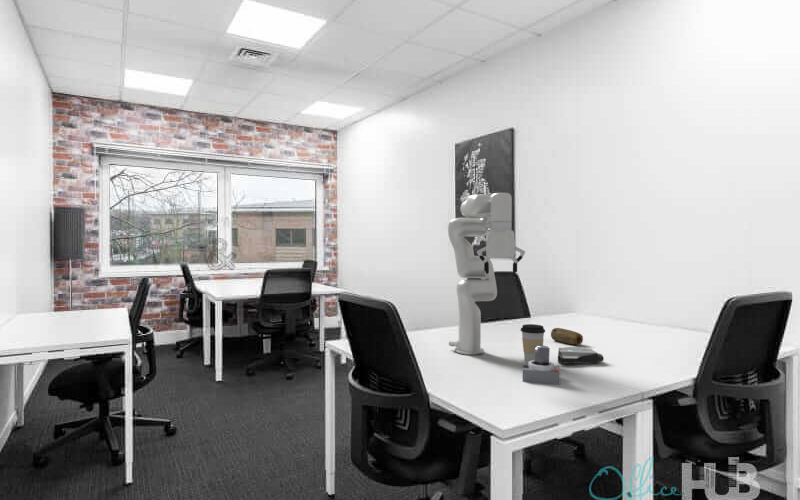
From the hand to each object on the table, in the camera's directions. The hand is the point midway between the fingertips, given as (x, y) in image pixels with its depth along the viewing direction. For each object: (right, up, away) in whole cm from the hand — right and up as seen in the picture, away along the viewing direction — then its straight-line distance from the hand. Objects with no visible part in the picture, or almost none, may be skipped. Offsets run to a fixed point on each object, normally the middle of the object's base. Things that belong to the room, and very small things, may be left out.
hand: (500, 273), depth 173 cm
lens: (+13, -32, -8) cm, 36 cm away
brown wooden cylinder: (+43, -36, +53) cm, 77 cm away
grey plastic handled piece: (+35, -37, +19) cm, 54 cm away
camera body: (+13, -36, -8) cm, 39 cm away
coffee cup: (+15, -36, +13) cm, 42 cm away
